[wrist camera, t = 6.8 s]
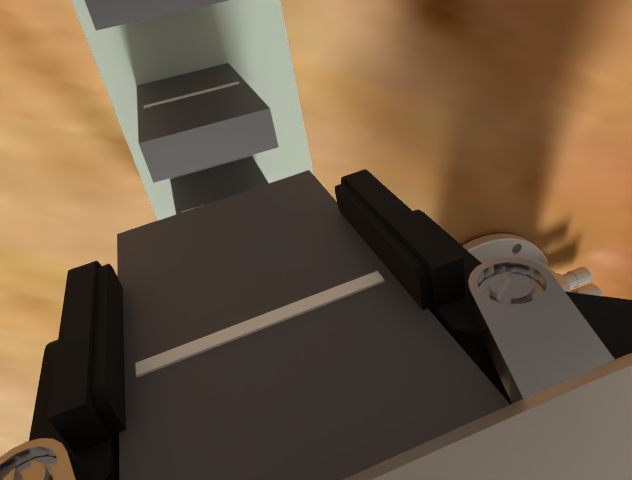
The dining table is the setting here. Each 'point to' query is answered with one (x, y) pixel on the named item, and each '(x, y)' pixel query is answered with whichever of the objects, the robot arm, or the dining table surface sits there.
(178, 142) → the domino
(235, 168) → the domino
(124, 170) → the dining table surface
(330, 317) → the domino
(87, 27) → the mat
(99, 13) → the domino
